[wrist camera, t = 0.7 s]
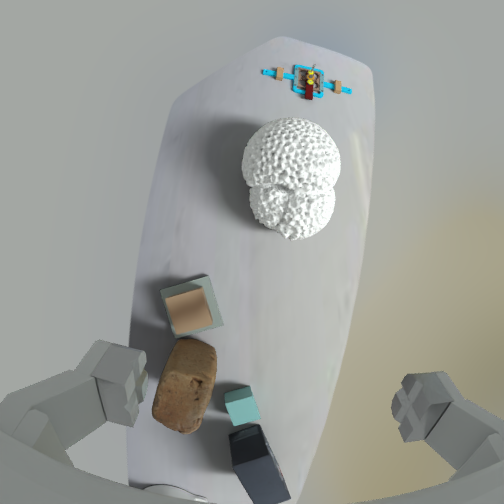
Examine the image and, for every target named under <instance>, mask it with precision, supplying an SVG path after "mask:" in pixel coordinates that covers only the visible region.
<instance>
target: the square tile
mask: <svg viewBox="0 0 504 504" xmlns="http://www.w3.org/2000/svg"><path fill="white" fill-rule="evenodd" d="M200 287H203V289H204V293H205V296H206V299H207V302H208V306H209V309H210V312H211V315H212V318H213V323H212V325H210V326H206V327H203V328H199V329H195V330H192V331H188V332H185V333H181V334H176V331H175V328H174V325H173V322H172V319H171V316H170V313H169V310H168V307H167V304H166V300H165V299H166V298H167V297H169V296H172V295H175V294H179V293H182V292H186V291H189V290H193V289H196V288H200ZM160 293H161V297H162V300H163V303H164V306H165V310H166V313H167V316H168V319H169V322H170V325H171V328H172V331H173V334H174V337H175V339H176V338H180V337H184V336H187V335H191V334H195V333H198V332H202V331H205V330H209V329H212V328H216V327H219V326H223V325H224V324H223V321H222V317H221V314H220V311H219V308H218V305H217V301H216V298H215V295H214V292H213V288H212V285H211V282H210V278H209V276H206V277H202V278H199V279H196V280H192V281H189V282H185V283H182V284H178V285H175V286H172V287H168V288H165V289H161V290H160Z"/></svg>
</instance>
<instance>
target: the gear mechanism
mask: <svg viewBox="0 0 504 504" xmlns="http://www.w3.org/2000/svg"><path fill="white" fill-rule="evenodd" d="M315 65H316V64H314V65H313V67H312V68H311V67H306V66H302V65H295V67H294V75H293V74H288V73H283V71H284V68H281V67H278V68H277V71H271V70H265V69H264V70H263V75H268V76H274V77H276V80H280V81H282V79H283V78H285V79H290V80H293V91H294V92H295V93H300V94H305V99H309V100H312V99H313V96H314V97H318V98H322V97H323V87H326V88H330V89H333V90H334V93H338V94H340V93H341V92H345V93H348V94H351V93H352V89H350V88H346V87H342V86H341V81H337V80H335V82H334V84H331V83H327V82H324V72H323V71H322V70H319V69H315V68H314V67H315ZM300 71H307V72H306V77H304V76H301V75H300ZM314 74H316V75H317V76H318V78H317V79H315V78H314ZM300 80H304V81H306V85H305V86H302V85H301V84H300V83H299V81H300ZM314 82H315V83H316V84H317V85H318V88H313V84H314ZM296 87H299V88H303V89H305V91H304V90H299V89H297V88H296ZM313 91H317V92H320V94H317V93H313Z"/></svg>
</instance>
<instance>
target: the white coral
mask: <svg viewBox="0 0 504 504" xmlns="http://www.w3.org/2000/svg"><path fill="white" fill-rule="evenodd" d="M243 155H244V156H243V160H242V167H241V169H242V172H243V177H244V179H245V180H247V181H246V184H247V185H248V186H250V187H252V188H251V189H250V191H249V192H250V196H249V197H250V198H249V200H250V207H251V209H252V210H253V214H254V215H255V219H259V222H260V223H263V224H264V225H265V226H266V227H267V228H270V229H271V228H272V229H273V230H274V229H276V230H277V233H280V234H281V235H282V237H284V238H289V239H290V240H293V239H294V240H295V239H303V238H305V239H306V238H307V237H310V236H312V235H314V234H316V233H317V232H319V230H321V229H322V228H323V227H324V226H326V224H327V223H328V221H329V220H330V217H331V215H332V213H333V212H334V211H333V208H334V205H335V204H334V203H335V194H334V192H335V191H334V190H333V187H332V186H334V185H335V183H336V182H337V179H338V176H339V174H340V168H341V165H340V163H341V161H340V154H339V152H338V148H337V147H336V145H335V142H334V141H333V140H332V138H331V137H330V136H329V134H327V132H326V131H325V130H324V129H323V128H321V127H320V126H319V125H318V124H315V123H313V122H311V121H308V120H305V119H299V118H293V117H292V118H284V119H277V120H275V121H271V122H270V123H267V124H265V125H264V127H261V128H260V129H259V130H258V132H255V134H254V135H253V136H252V137H251V139H249V142H248V143H247V146H246V147H245V150H244V154H243Z"/></svg>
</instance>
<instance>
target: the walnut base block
mask: <svg viewBox="0 0 504 504" xmlns="http://www.w3.org/2000/svg"><path fill="white" fill-rule="evenodd" d="M165 300H166V304H167V307H168V310H169V313H170V316H171V319H172V322H173V325H174V328H175V331H176V334H181V333H185V332H188V331H192V330H195V329H199V328H203V327H206V326H210V325H212V323H213V318H212V315H211V312H210V309H209V306H208V302H207V299H206V296H205V293H204V289H203V287H200V288H196V289H193V290H189V291H186V292H182V293H179V294H175V295H172V296H169V297H167V298H166V299H165Z"/></svg>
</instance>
